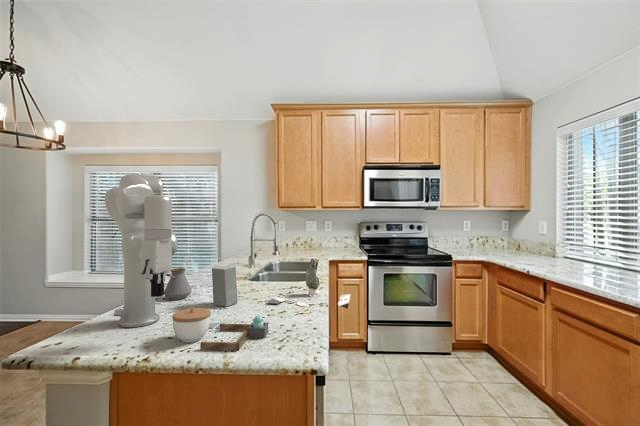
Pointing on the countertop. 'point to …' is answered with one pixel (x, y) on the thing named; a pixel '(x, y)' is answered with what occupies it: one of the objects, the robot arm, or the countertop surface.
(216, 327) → the space tiles
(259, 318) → the dome
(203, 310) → the lidded jar
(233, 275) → the skincare box
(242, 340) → the walnut bay
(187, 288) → the coffee pot
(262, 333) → the dark grey open box
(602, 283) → the countertop surface
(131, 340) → the countertop surface
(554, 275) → the countertop surface
